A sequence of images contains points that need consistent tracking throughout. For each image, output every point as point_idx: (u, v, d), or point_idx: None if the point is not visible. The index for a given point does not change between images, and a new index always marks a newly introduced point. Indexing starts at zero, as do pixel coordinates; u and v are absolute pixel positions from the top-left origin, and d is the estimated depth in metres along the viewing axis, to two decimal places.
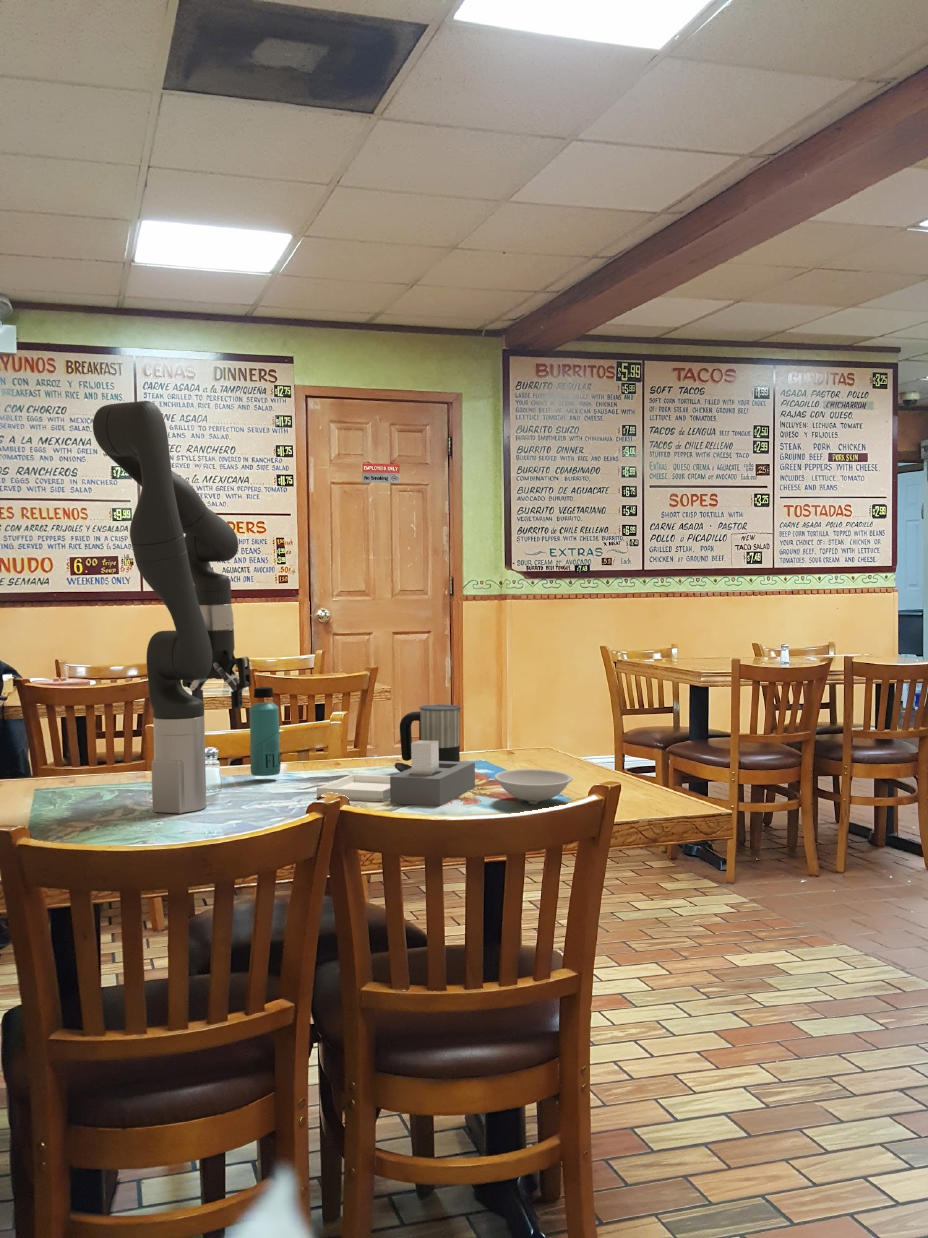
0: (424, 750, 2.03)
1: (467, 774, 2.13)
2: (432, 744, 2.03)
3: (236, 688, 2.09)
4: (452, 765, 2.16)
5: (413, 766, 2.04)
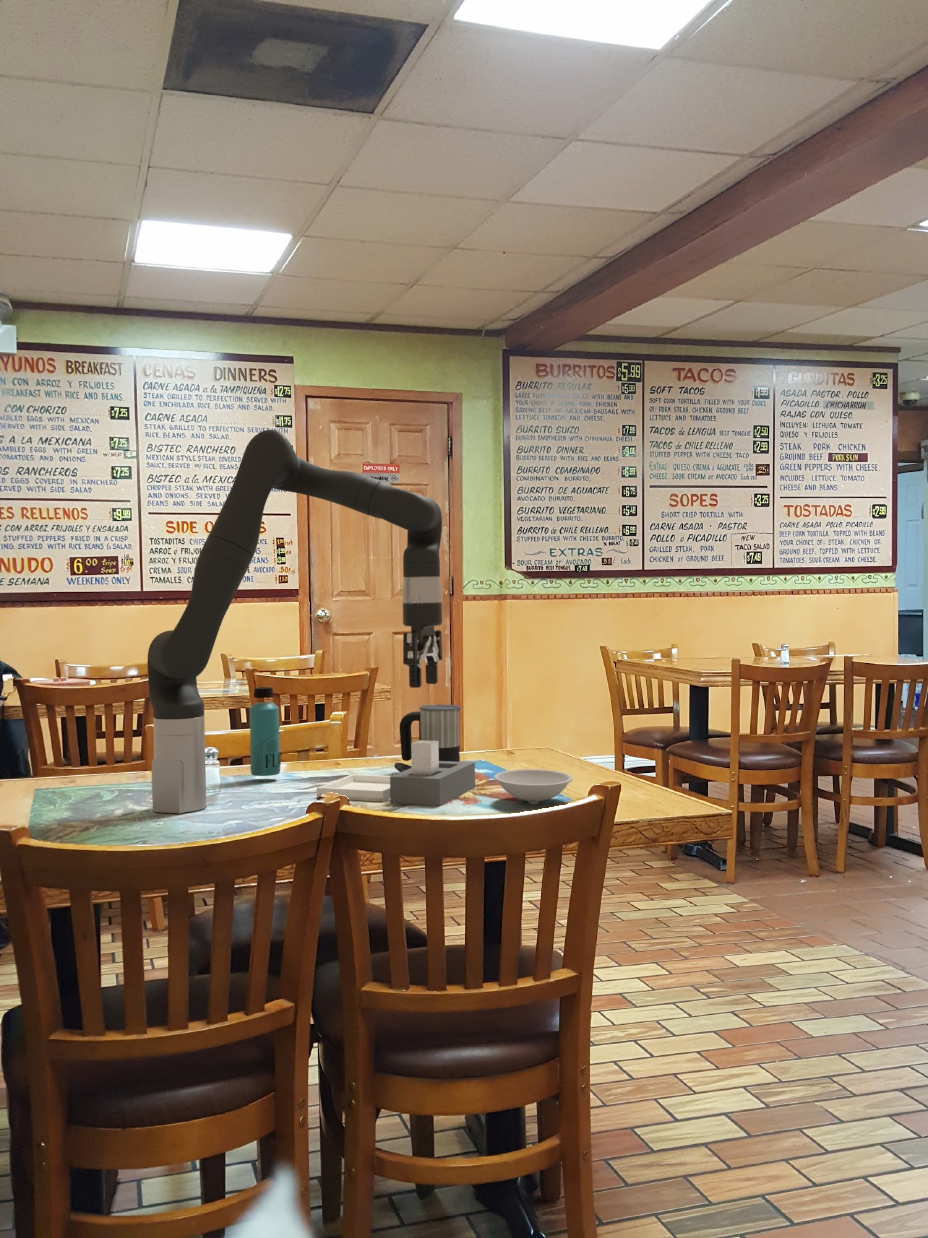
0: (424, 750, 2.03)
1: (467, 774, 2.13)
2: (432, 744, 2.03)
3: None
4: (452, 765, 2.16)
5: (413, 766, 2.04)
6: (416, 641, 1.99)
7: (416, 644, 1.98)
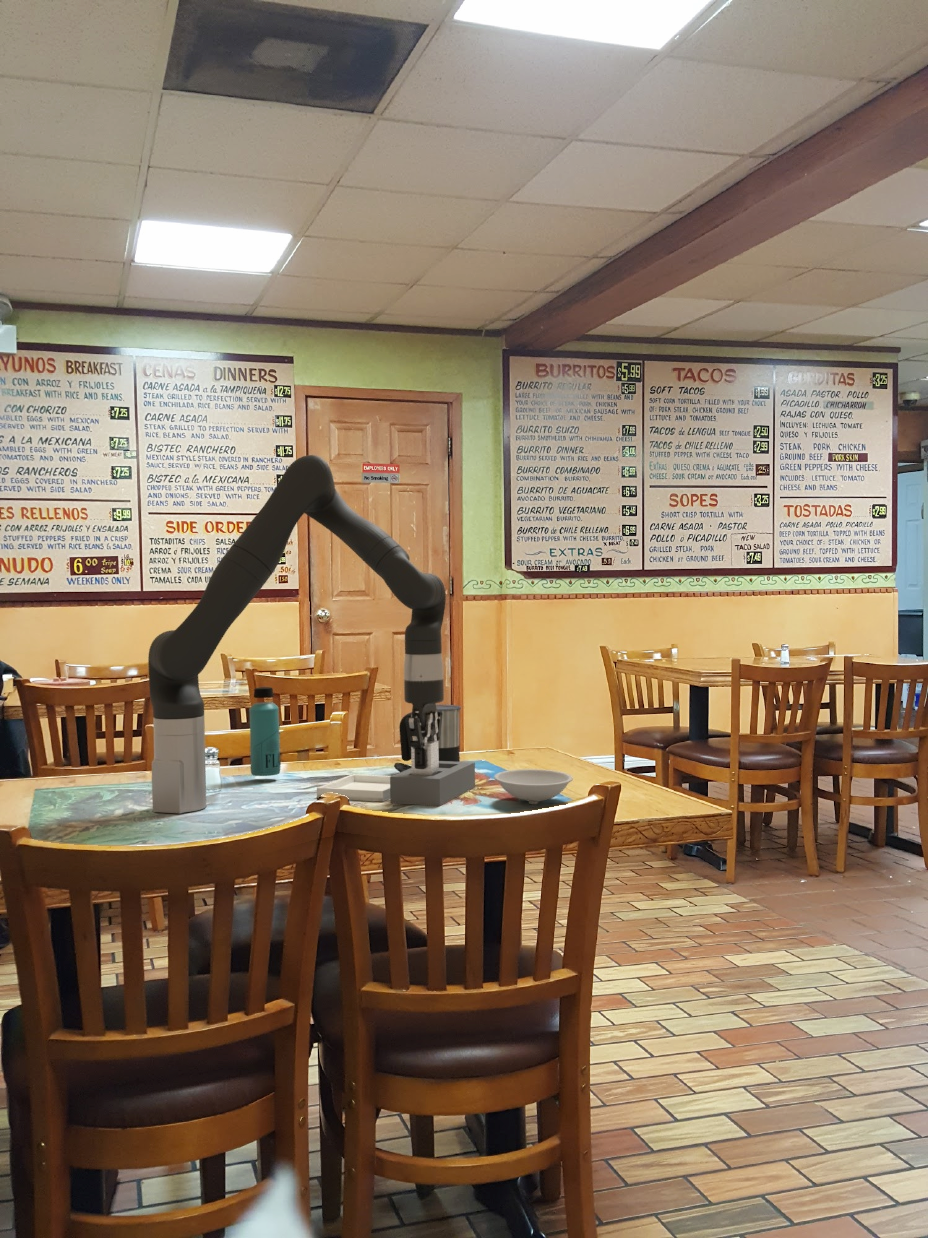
0: None
1: (467, 774, 2.13)
2: (432, 744, 2.03)
3: None
4: (452, 765, 2.16)
5: (413, 766, 2.04)
6: (419, 726, 1.99)
7: (419, 729, 1.99)
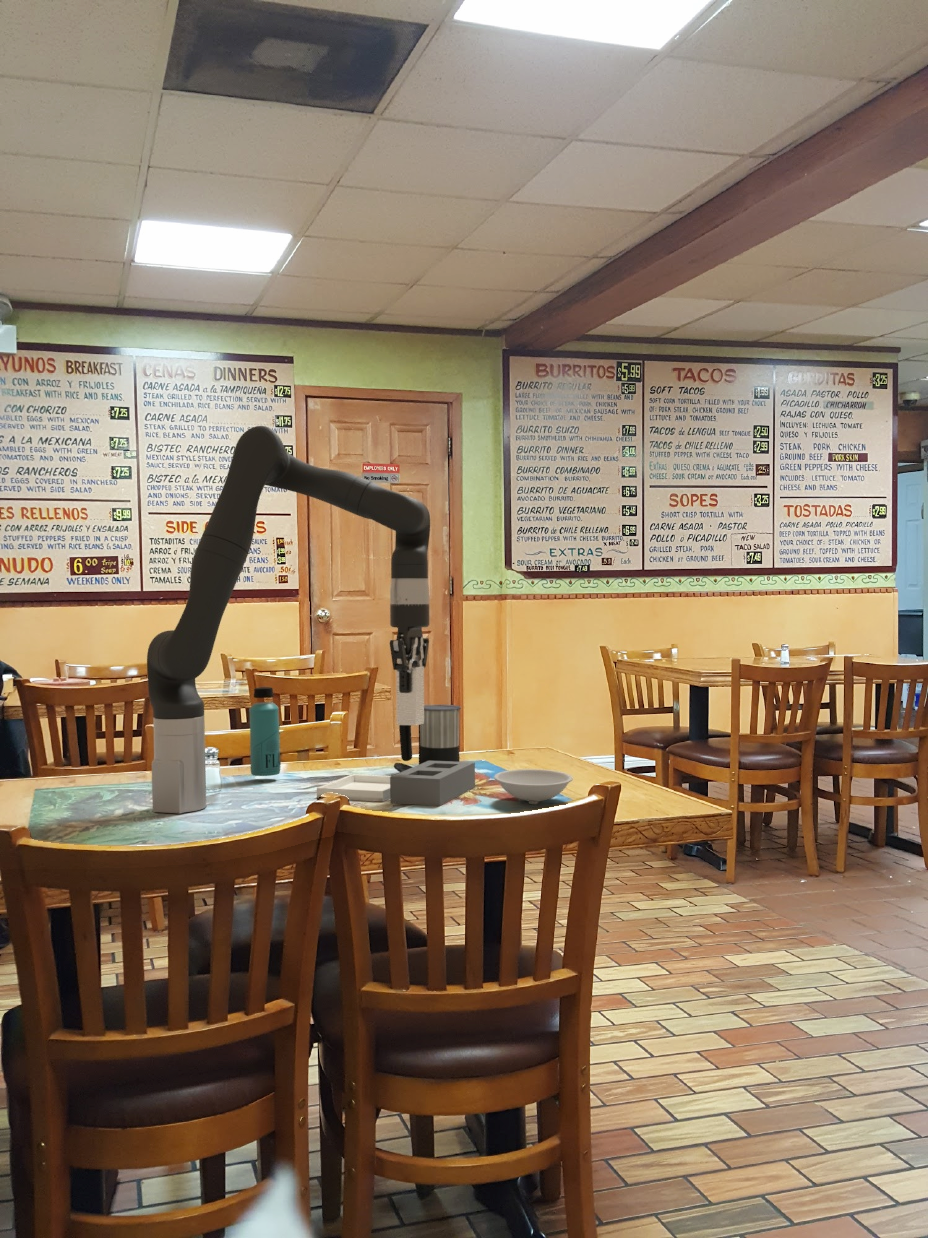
0: None
1: (467, 774, 2.13)
2: (416, 668, 2.04)
3: None
4: (452, 765, 2.16)
5: (398, 690, 2.05)
6: (403, 648, 2.00)
7: (403, 651, 2.00)
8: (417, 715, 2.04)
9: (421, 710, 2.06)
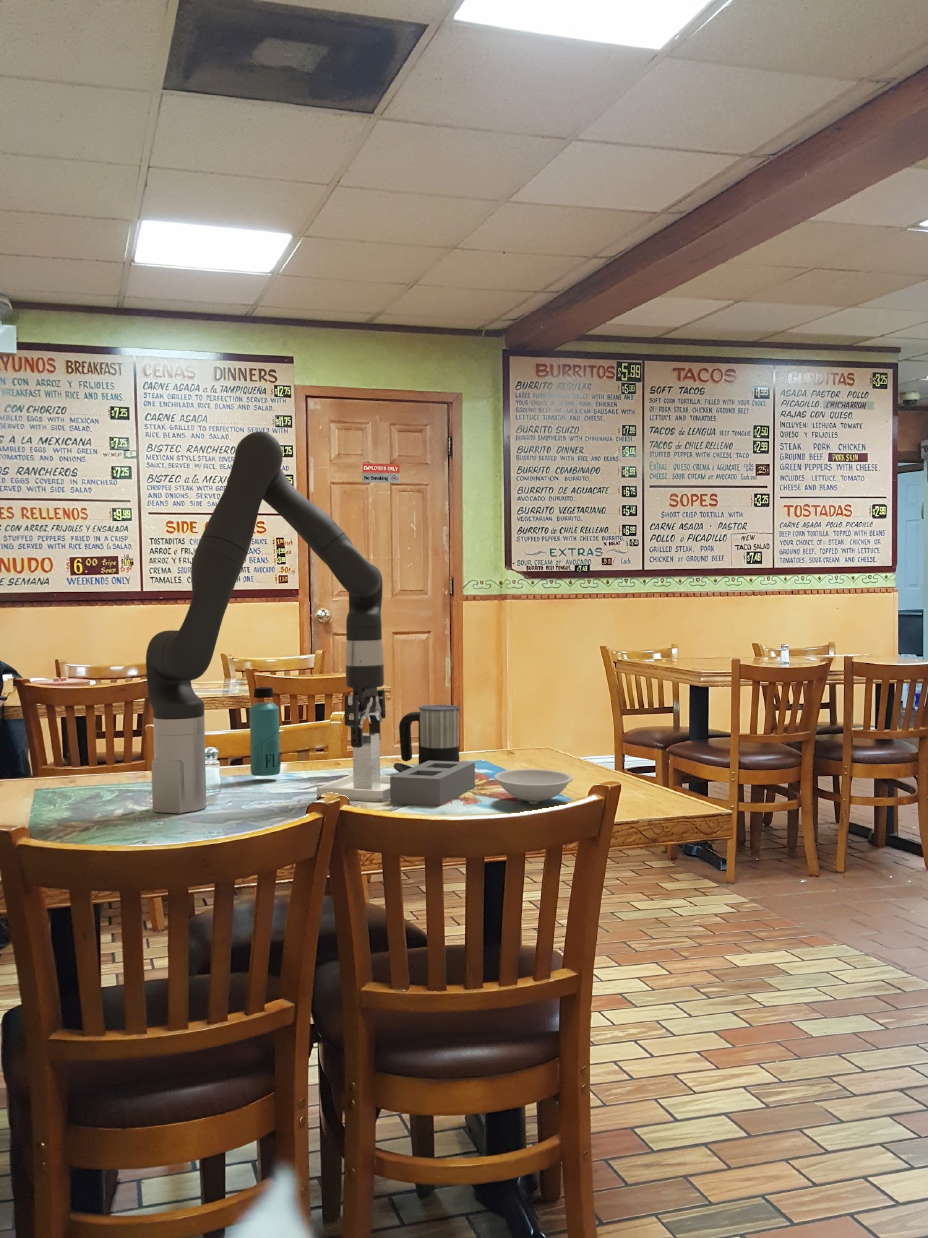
0: (364, 742, 2.11)
1: (467, 774, 2.13)
2: (372, 736, 2.11)
3: None
4: (452, 765, 2.16)
5: (354, 757, 2.12)
6: (357, 703, 2.07)
7: (356, 706, 2.07)
8: (373, 782, 2.12)
9: (377, 776, 2.13)
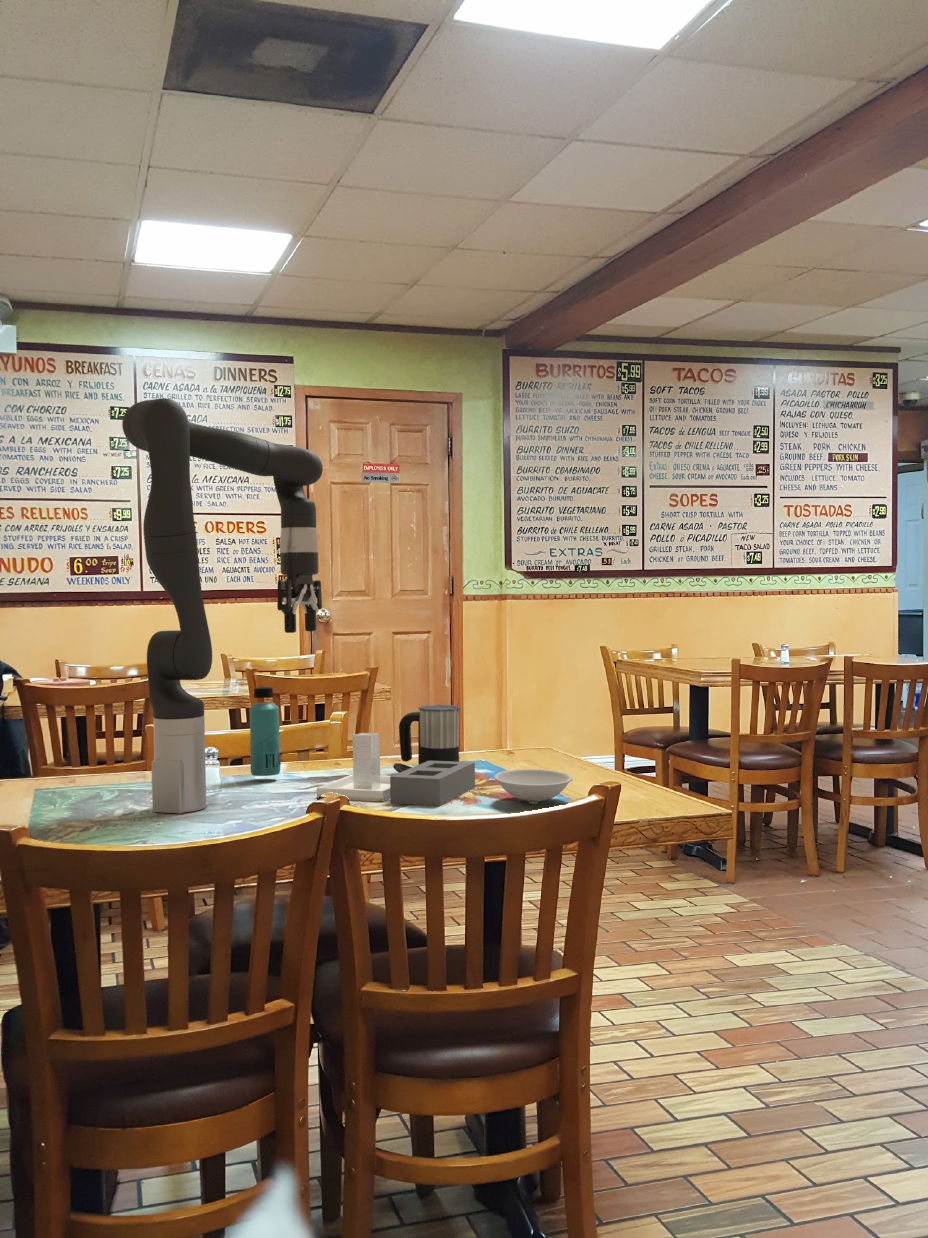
0: (364, 742, 2.11)
1: (467, 774, 2.13)
2: (372, 736, 2.11)
3: None
4: (452, 765, 2.16)
5: (354, 757, 2.12)
6: (289, 588, 2.09)
7: (289, 591, 2.08)
8: (373, 782, 2.12)
9: (377, 776, 2.13)
